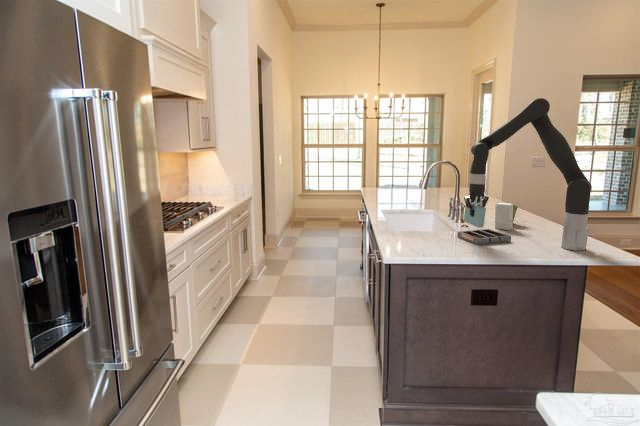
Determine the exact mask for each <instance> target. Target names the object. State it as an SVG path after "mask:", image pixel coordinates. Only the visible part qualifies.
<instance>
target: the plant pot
mask: <svg viewBox="0 0 640 426" xmlns="http://www.w3.org/2000/svg"><path fill="white" fill-rule="evenodd" d="M519 206H520V205H518V204H517V205H516V204H513V222H514V221H515V217H516V214H517V210H518V208H519Z"/></svg>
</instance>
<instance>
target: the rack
mask: <svg viewBox="0 0 640 426" xmlns="http://www.w3.org/2000/svg"><path fill="white" fill-rule="evenodd" d="M457 238H459V239H461V240H463V241H464V240H465V241H467V242H469V243H472V244H474V245H477V246H482V245H492V244H493V245H495V244H501V243H511V242H512V236H511V235H509V234H505V233H502V232H501V231H496V230H493V229H490V228H481V229H472V230H470V229H469V230H460V231H459V230H458V231H457Z"/></svg>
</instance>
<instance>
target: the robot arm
mask: <svg viewBox="0 0 640 426" xmlns="http://www.w3.org/2000/svg"><path fill="white" fill-rule="evenodd" d="M550 108H551V105H550V102H549V101H548V99H546V98H543V97H539V98H535V99H533V100H531V102H529V104H527V106H526V107H525V108H524V109H522V111H521V112H519V113H518V114H516V116H514V117H512V118H511V119H510V120H509V121H507V122H505V123H504V124H502V125H501V126H499V127H498V128H497V129H495V130H493V131H492V132H491V133H490V134H489V135H487V136H485V137H483V138H482V139H479V140H478V141H477V142H475V143H474V144H473V145H472V147H471V149H470V152H471V154H472V155H473V161H472V163H471V164H470V165H471V166H470V167H471V168H470V176H469V188H468V190H469V193H468V196H465V197H463V201H464V204H465V207H466V206H467V208H470V216H472V217H474V209H475V205H479V206H481V207H484V208H486V205H487V203H488V201H489V199H490V197H489V196H486V195H485V192H486V183H487V182H486V181H487V164H488V159H489V154H490V150H491V149H493V148H495V147H498V146H500V145H501V144H503V143H505V142H506V141H508V140H509V139H510V138H512V137H513V136H514V135H515V134H516V133H517V132H518V131H520V130H521V129H522V128H524V127H525V126H527V125H528V124H531V125H532V126H533V127H534V129H535V131H536V133H537V134H538V136H539V138H540V141H541V143H542V146H543V147H544V149H545V151H546V153H547V155H548V156H549V158H550V160H551V161H552V162H553V164H554V165H555V167H557V169H558V170H559V171H560V173H561V174H562V176H563V178H564V180H565V182H566V185H567V187H566V194H565V203H564V204H565V205H564V206H565V207H564V209H565V210H564V218H563V226H562V227H563V228H562V234H561V235H562V236H561V245H560V247H561V248H562V249H566V250H570V251H575V252H578V251H586V250H587V244H588V236H589V230H588V228H587V226H588V220H589V219H588V217H589V212H590V211H589V210H590V202H591V201H590V199H591V193H592V190H593V189H592V188H593V187H592V184H591V182H590V181H589V179H588V178H587V176H585V174H584V172H583V171H582V169H581V168H580V166H579V164H578V162H577V159H576V156H575V154H574V151H572V148H571V146H570V144H569V142H568V141H567V139H566V137H565V136H564V135H563V134H562V133H561V132H560V131H559V130H558V129H557V128H556V127H555V125H553V123H552V121H551V119H550V117H549V114H548V113H549V111H550ZM472 205H473V206H472ZM585 249H586V250H585Z"/></svg>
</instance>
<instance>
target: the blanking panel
mask: <svg viewBox="0 0 640 426" xmlns="http://www.w3.org/2000/svg"><path fill="white" fill-rule="evenodd" d="M472 206H473V205H472ZM486 210H487V208H486V207H481V206H479V205H477V204H476V205H475V209H474V217H472V216H470V208H467V206H466V205H465V209H464V217H463V222H466V223H467V224H470V225H472V226H473V227H476V228H481V229H482V228H484V226H485V220H486V219H485V217H486Z"/></svg>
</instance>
